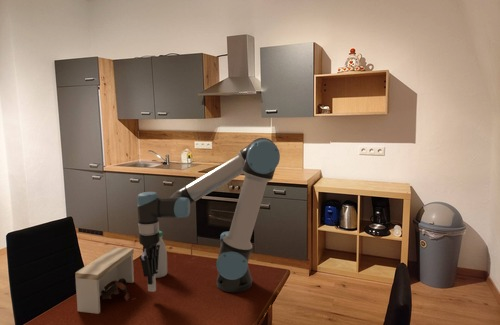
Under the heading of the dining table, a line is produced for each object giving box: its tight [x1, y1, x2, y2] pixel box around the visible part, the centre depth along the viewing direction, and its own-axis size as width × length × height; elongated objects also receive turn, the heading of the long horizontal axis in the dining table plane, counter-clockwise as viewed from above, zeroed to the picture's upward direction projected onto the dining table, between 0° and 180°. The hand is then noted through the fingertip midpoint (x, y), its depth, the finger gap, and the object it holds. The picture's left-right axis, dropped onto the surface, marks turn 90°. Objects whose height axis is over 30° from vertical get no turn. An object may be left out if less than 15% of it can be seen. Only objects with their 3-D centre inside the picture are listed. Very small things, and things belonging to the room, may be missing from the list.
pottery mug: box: [101, 278, 130, 302], centre depth 148 cm, size 12×10×8 cm
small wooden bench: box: [74, 246, 135, 315], centre depth 149 cm, size 9×26×15 cm, turn 169°
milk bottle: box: [155, 230, 168, 279], centre depth 168 cm, size 8×8×20 cm
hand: (152, 290), depth 146 cm, fingers closed
